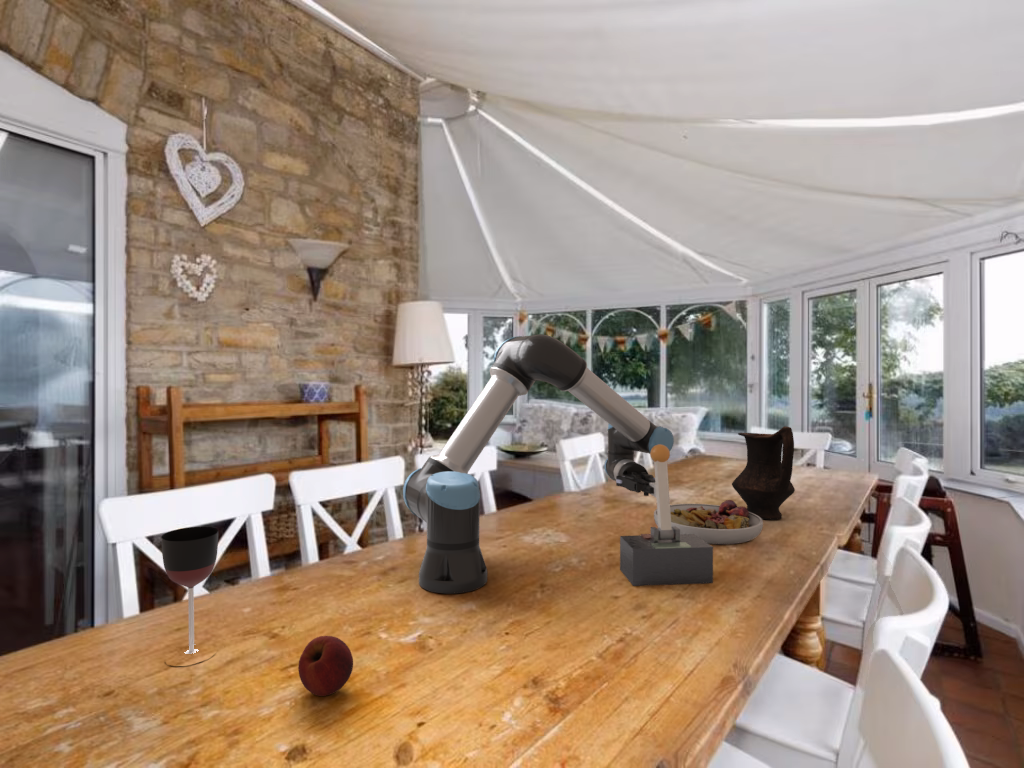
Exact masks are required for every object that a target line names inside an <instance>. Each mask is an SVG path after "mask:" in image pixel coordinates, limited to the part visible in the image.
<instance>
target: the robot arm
mask: <svg viewBox="0 0 1024 768" xmlns="http://www.w3.org/2000/svg"><path fill="white" fill-rule="evenodd" d="M489 374H490V378H489V380H488V382H487V383H486V385H485V386H484V387H483V389H482V390H481V391H480V394H479V395H478V396H477V398H476V399H475V401H473V403H472V405H471V406H470V407H469V409H468V411H467V412H466V413H465V415H464V417H463V418H462V419H461V421H460V423H458V425H457V427H456V428H455V429H454V431H453V432H452V435H451V436H450V437H449V438H448V440H447V442H445V444H444V446H443V447H442V449H441V450H440V452H439V453H437V454H433V455H429V456H428V458H427V460H426V461H425V462H424V464H423V465H422V467H420V468H418V469H416V470H414V471H412V472H411V473H410V474H409V475H408V476H407V478H406V479H405V481H404V484H403V487H402V497H403V502H404V503H405V506H406V507H407V509H408V510H409V511H410V512H411V514H412V515H414V516H416V517H417V518H419V519H421V520H422V521H424V522H425V523H426V549H425V552H424V556H423V559H422V562H421V565H420V568H419V572H418V585H419V586H420V588H422V589H424V590H425V591H428V592H431V593H438V594H445V595H446V594H451V595H452V594H463V593H469V592H472V591H476V590H478V589H480V588H482V587H484V586H485V585H487V583H488V568H487V566H486V565H487V564H486V562H485V558H484V556H483V553H482V550H481V547H480V505H481V504H480V503H481V502H480V499H481V492H480V485H479V481H478V479H477V478H476V477H475V476H473V475H471V474H469V472H470V469H472V467H473V465H474V464H475V462H476V460H478V457H480V455H481V453H482V452H483V451H484V449H485V447H486V445H487V444H488V443H489V441H490V440H491V438H492V437H493V435H494V434H495V432H496V430H497V429H498V428H499V426H500V425H501V424H502V421H503V420H504V419H505V417H506V416H507V414H508V412H509V411H510V409H511V408H512V406H513V404H514V403H515V402H516V400H517V399H518V398H519V396H525V395H527V394H528V392H529V391H530V389H531V388H532V386H533V385H534V383H536V382H537V381H538V382H539V381H540V382H544V383H548V384H551V385H552V386H554V387H556V388H557V389H558V390H559V391H561V392H569V393H570V394H571V396H573V397H575V398H576V399H578V401H580V402H581V403H583V404H584V405H585V406H586V407H587V408H589V409H590V410H591V411H593V413H595V414H596V415H597V416H599V417H600V418H601V419H603V420H604V421H605V422H606V423H607V424H608V425H607V458H606V460H605V462H604V465H603V467H604V471H605V473H606V475H607V476H608V477H609V478H610V479H611V480H613V481H614V482H615V483H616V485H615V486H617V487H622V488H624V489H626V490H628V491H630V492H634V493H638V494H639V493H642V492H643V496H644V497H649V496H650V495H651V496H653V497H654V498H656V485H655V476H654V475H653V474H650V473H648V471H647V469H646V467H645V466H643V465H642V464H640V463H638V462H636V461H635V452H639V453H644V454H645V453H646V454H648V455H649V454H650V452H651V449H652V448H653V447H654V446H655V445H658V444H661V445H664V446H666V447H667V448H668V449H669V452H671V451H672V449H673V446H674V442H675V439H674V435H673V433H672V431H671V430H670V428H667V427H663V426H658V425H656V424H654V423H653V422H652V421H651V420H650V419H648V418H647V417H646V416H645V415H644V414H642V413H641V412H640V411H639V410H638V409H637V408H635V407H634V406H633V405H632V404H630V402H629V401H627V400H626V399H624V398H623V397H622V396H621V395H620V394H619V393H618V392H617V391H615V390H614V389H613V388H612V387H610V386H609V385H608V384H607V383H606V382H605V381H603V380H602V379H601V378H600V377H599V376H597V375H596V374H595V373H594V372H593V371H592V370H590V369H589V368H588V363H587V361H586V360H585V359H584V358H583V357H582V356H580V355H579V354H578V353H577V352H576V351H575V350H573V349H571V347H569V346H568V345H566V344H565V343H563V342H562V341H560V340H558V339H557V338H555V337H552V336H551V335H547V334H542V333H541V334H533V335H525V336H524V335H523V336H520V335H518V336H513V337H510V338H508V339H506V340H504V341H502V343H500V344H499V345H498V347H497V348H496V350H495V352H494V355H493V364H492V365H491V367H490V369H489Z"/></svg>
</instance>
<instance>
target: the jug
mask: <svg viewBox="0 0 1024 768" xmlns="http://www.w3.org/2000/svg"><path fill="white" fill-rule="evenodd" d="M737 435H739V436H741V437H743V438H744V440H745V445H746V459H747V460H746V465H745V467H744V469H743V470H742V471H741V472H740V473H739V474H738V476H737V477H736V478H734V480H733V481H732V482H731V486H732V488H733V489H734V490H735V492H736V493H737V494H738V495H739V497H740V498H741V499H742V501H744V503H745V504H746V509H747V510H748V512H751V513H753V514H756V515H757V516H759V517H760V518H761V519H762V520H773V521H774V520H781V519H782V518H783V517H782V515H783V514H782V512H780V507H781V505H783V503H784V502H786V501H787V500H788V498H789V497H791V496H792V495H793V494H794V493H795V490H796V489H795V487H794V485H793V482H792V481H791V480H792V475H793V464H794V461H793V460H794V454H795V440H794V432H793V429H792V427H791V426H783V427H781V428H780V429H779V430H778V431H776V432H775V433H757V432H756V433H755V432H738V433H737Z"/></svg>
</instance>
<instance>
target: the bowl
mask: <svg viewBox="0 0 1024 768" xmlns="http://www.w3.org/2000/svg"><path fill="white" fill-rule="evenodd" d="M670 513H671V528H672V527H674V526H676V527H677V528H679V529H680V534H695V535H696V536H698V537H699V538H701V539H702V540H704V541H705V542H706V543H708V544H709V545H735V544H743V543H747V542H750V541H752V540H754V539H755V538H757V537H758V536H759V535H760V534H761V532H762V530H763V526H764V521H763V520H764V519H761V518H760V517H759V516H757V515H756V514H753V513H751V512H748V510H747V507H745V506H742V505H741V506H737V503H736V502H735V501H734V500H732V499H727V500H724V501H723V502H722V503H721V504H720V505H719V504H718V505H717V504H708V503H677V504H670ZM653 518H654V522H655V524H656V526H657V527H658V517H657V508H656V509H655V510H654V511H653Z"/></svg>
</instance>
